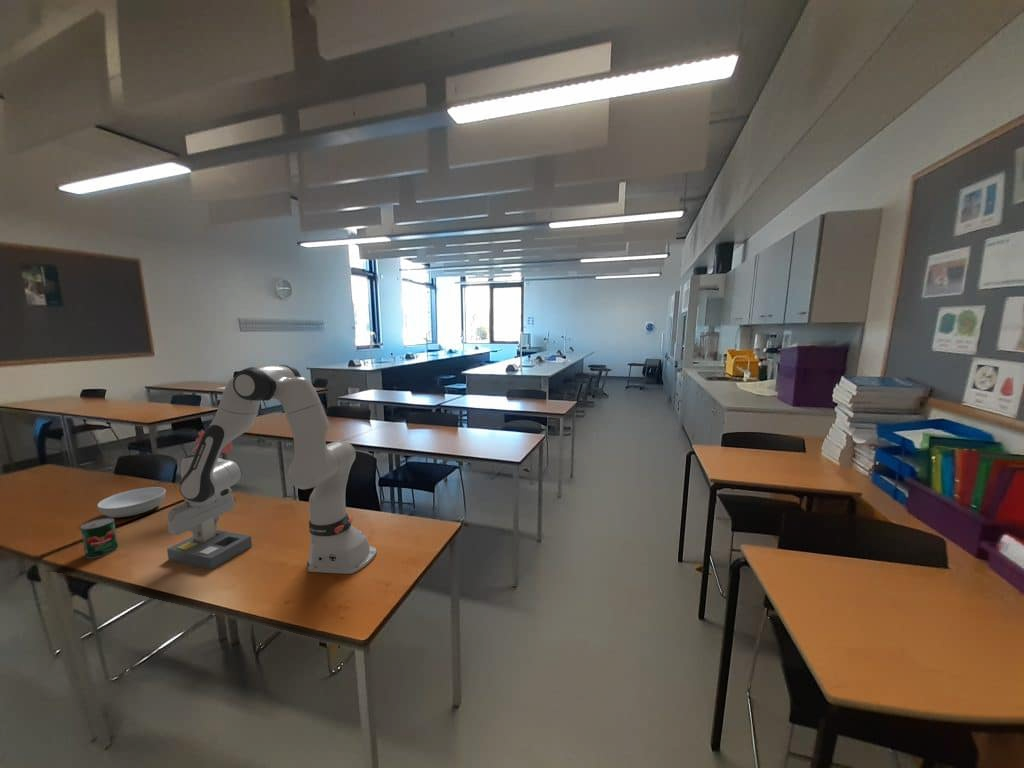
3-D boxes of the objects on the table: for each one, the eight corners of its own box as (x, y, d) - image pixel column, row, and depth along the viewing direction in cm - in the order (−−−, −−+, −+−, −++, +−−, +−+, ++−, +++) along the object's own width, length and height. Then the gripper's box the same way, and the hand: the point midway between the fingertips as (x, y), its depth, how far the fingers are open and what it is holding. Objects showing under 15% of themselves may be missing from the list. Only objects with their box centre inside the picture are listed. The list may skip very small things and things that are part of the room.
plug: (216, 543, 136) (213, 517, 135) (204, 549, 132) (201, 522, 131) (208, 541, 137) (205, 515, 136) (196, 547, 133) (193, 521, 132)
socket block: (252, 546, 136) (250, 535, 135) (212, 569, 122) (210, 557, 122) (211, 538, 141) (209, 527, 140) (168, 559, 128) (166, 548, 127)
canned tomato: (106, 544, 137) (102, 516, 135) (124, 546, 135) (120, 518, 134) (78, 557, 129) (73, 527, 127) (97, 559, 128) (92, 529, 126)
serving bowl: (83, 523, 152) (81, 507, 151) (136, 500, 173) (134, 486, 172) (133, 524, 151) (131, 508, 150) (180, 501, 172) (178, 487, 171)
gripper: (174, 511, 121) (179, 550, 123) (235, 486, 141) (239, 520, 143) (160, 508, 123) (165, 547, 125) (222, 484, 143) (226, 518, 144)
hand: (205, 533), depth 134 cm, fingers closed on plug, 4 cm apart
